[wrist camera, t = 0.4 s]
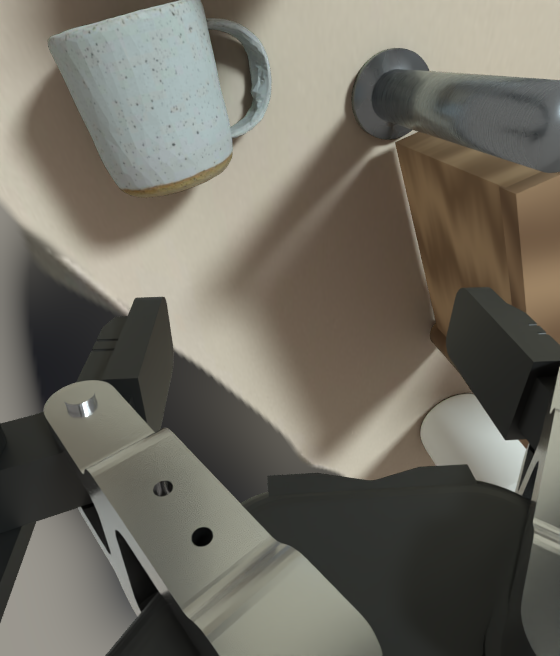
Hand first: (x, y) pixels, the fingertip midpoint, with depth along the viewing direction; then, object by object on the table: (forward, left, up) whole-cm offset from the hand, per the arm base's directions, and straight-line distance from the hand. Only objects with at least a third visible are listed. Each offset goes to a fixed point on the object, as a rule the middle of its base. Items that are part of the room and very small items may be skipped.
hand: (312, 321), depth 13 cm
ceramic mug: (-3, -5, -21) cm, 22 cm away
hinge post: (-7, +8, -21) cm, 24 cm away
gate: (+2, +16, -20) cm, 26 cm away
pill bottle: (+18, +28, -21) cm, 40 cm away
